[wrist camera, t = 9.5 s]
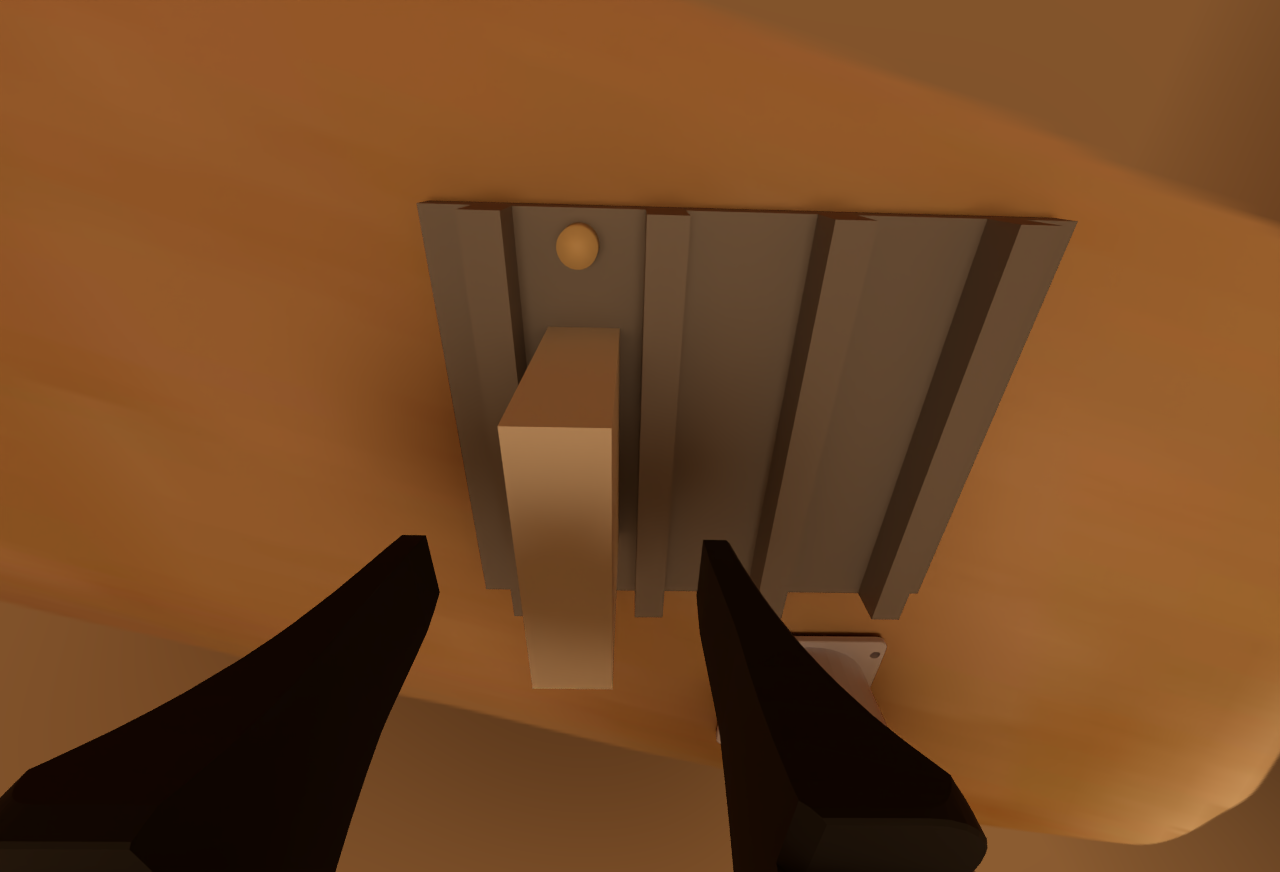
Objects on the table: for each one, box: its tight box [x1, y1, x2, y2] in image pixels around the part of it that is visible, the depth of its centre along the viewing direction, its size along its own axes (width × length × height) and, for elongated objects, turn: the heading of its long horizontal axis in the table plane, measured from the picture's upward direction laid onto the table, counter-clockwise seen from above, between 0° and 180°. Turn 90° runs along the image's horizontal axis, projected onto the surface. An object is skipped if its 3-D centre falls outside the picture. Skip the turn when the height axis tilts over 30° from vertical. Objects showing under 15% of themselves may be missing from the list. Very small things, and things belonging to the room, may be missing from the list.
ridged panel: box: [417, 201, 1078, 620], centre depth 18 cm, size 16×20×2 cm
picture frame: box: [498, 327, 620, 689], centre depth 16 cm, size 9×2×7 cm, turn 179°
